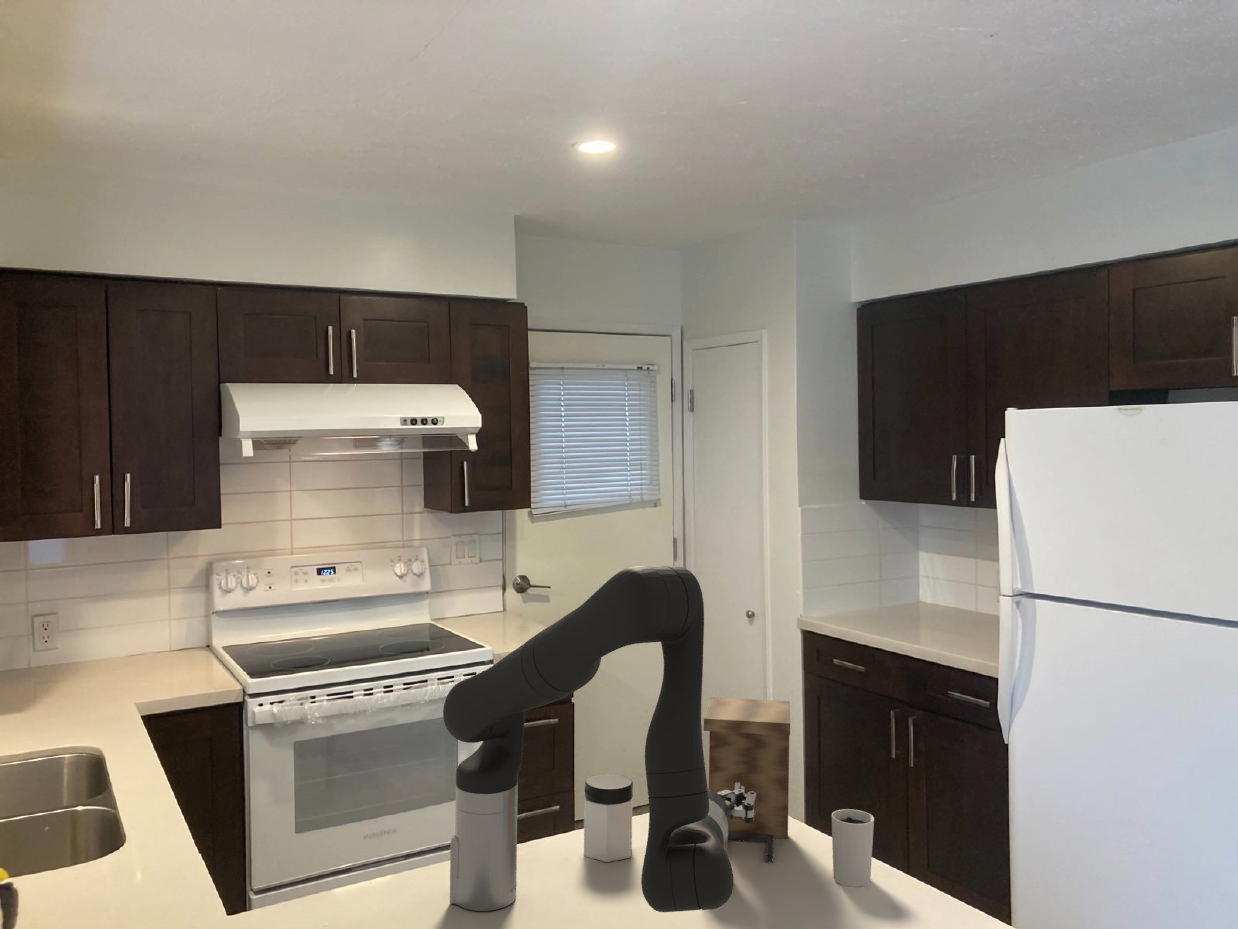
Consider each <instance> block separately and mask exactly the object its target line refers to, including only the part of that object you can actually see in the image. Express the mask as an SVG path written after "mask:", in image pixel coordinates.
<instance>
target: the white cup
mask: <svg viewBox="0 0 1238 929" xmlns="http://www.w3.org/2000/svg"><path fill="white" fill-rule="evenodd" d="M874 825H875V817H874V816H873V815H872V814H871V813H868V812H866V811H864V810H858V809H849V808H845V809H844V808H843V809H839V810H835V811H833V812H832V813H831V833H832V834H831V837H832V839H831V840H832V871H833V880H834V881H835V882H836V883H837V884H840V885H841V886H846V887H851V888H852V887H853V888H862V887H866V886H868V885H869V884H871V876H872V874H871V873H872V858H873V842H874V827H875V826H874Z"/></svg>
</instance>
